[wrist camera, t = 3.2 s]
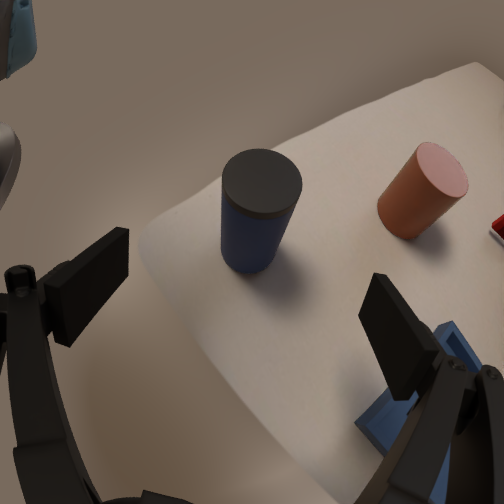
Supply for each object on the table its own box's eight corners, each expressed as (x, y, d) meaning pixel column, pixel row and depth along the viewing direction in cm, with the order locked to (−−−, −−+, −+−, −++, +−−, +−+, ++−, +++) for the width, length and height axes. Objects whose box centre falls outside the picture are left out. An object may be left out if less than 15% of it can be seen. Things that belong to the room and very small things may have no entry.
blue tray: (353, 422, 23) (365, 425, 21) (438, 324, 27) (452, 320, 25) (441, 518, 18) (453, 523, 16) (506, 430, 22) (519, 430, 20)
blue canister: (216, 268, 28) (214, 205, 18) (226, 219, 29) (230, 142, 20) (271, 278, 28) (299, 220, 18) (277, 229, 30) (304, 156, 20)
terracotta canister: (378, 233, 31) (422, 186, 22) (375, 184, 33) (411, 134, 25) (426, 244, 31) (474, 205, 23) (419, 197, 33) (459, 154, 25)
